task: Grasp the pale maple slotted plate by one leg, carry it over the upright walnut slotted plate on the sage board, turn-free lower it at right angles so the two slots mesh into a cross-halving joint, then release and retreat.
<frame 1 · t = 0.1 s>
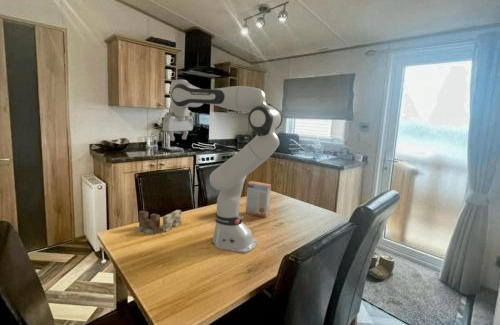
hand: (178, 139, 139), 48 cm above the table, fingers open, 8 cm apart
walnut slotted plate: (149, 229, 143), on the table
maple cross plate: (172, 227, 147), on the table
cracker box: (257, 214, 173), on the table
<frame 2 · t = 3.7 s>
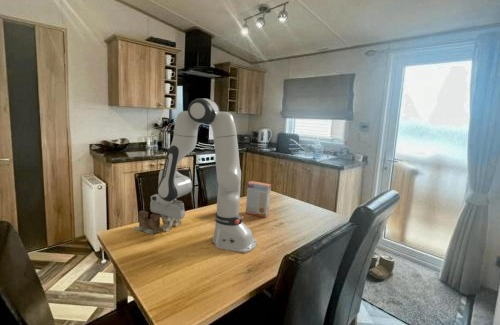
hand: (167, 223, 142), 4 cm above the table, fingers closed on maple cross plate, 2 cm apart
maple cross plate: (172, 227, 147), on the table, touching gripper
everything else where it was.
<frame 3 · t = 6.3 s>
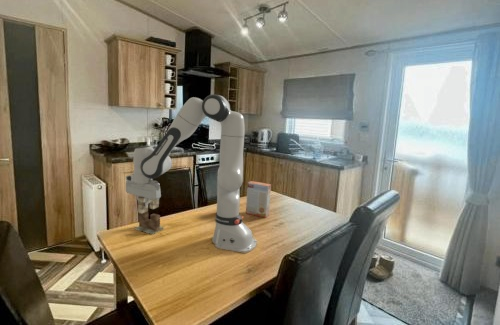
hand: (143, 204, 136), 15 cm above the table, fingers closed on maple cross plate, 2 cm apart
maple cross plate: (148, 209, 141), point 11 cm above the table, touching gripper
everything else where it was.
when the fingers open (5 cm above the table, at t = 8.7 s): maple cross plate stays where it is, resting on walnut slotted plate.
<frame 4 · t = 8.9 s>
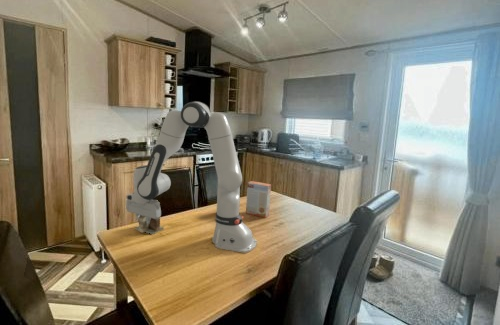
hand: (143, 222, 138), 5 cm above the table, fingers open, 4 cm apart
maple cross plate: (149, 227, 142), point 1 cm above the table, touching walnut slotted plate
everything else where it was.
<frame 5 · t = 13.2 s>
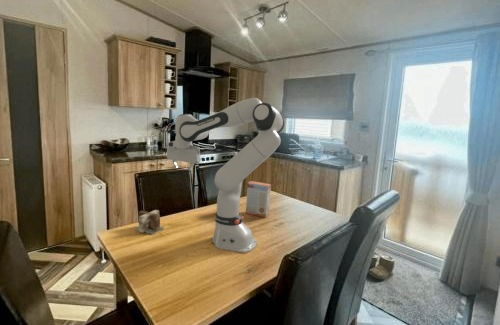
hand: (183, 169, 148), 31 cm above the table, fingers open, 8 cm apart
nothing on the table moved.
at the end: maple cross plate 0.2 cm off-centre on the walnut slotted plate, point 0.8 cm above the walnut slotted plate's base; maple cross plate tilted 0°; the gripper is holding nothing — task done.
